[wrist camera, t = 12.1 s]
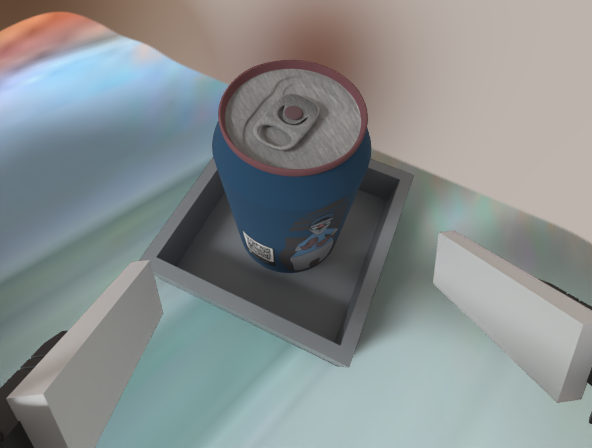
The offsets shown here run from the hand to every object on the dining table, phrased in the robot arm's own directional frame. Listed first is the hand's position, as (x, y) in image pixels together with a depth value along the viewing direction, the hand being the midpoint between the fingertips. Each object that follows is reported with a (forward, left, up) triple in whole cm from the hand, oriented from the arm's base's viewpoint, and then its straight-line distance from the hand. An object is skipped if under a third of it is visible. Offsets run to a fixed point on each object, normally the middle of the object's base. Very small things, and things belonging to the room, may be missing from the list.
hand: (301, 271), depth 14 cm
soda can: (-3, +4, -7) cm, 9 cm away
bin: (-3, +4, -8) cm, 9 cm away
